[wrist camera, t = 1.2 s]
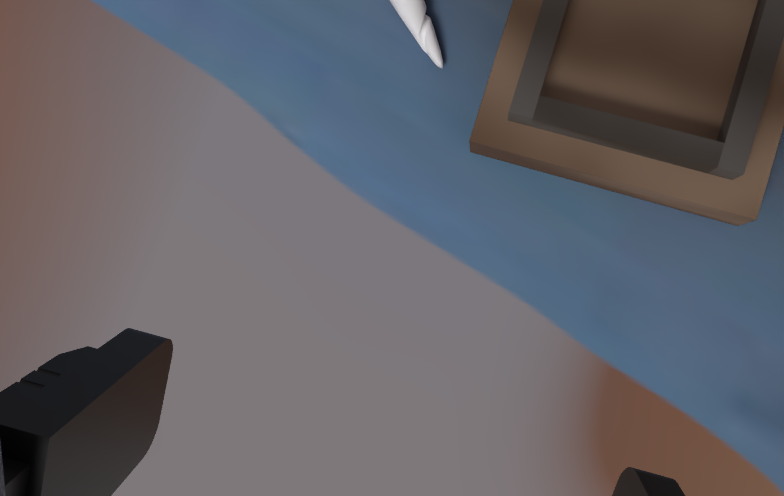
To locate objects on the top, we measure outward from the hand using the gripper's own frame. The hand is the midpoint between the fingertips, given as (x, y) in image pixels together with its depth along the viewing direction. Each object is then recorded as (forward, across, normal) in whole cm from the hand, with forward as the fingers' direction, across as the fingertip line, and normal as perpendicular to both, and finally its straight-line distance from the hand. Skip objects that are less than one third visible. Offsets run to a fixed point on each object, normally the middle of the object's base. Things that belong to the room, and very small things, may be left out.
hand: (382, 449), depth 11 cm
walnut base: (+21, -7, -10) cm, 25 cm away
